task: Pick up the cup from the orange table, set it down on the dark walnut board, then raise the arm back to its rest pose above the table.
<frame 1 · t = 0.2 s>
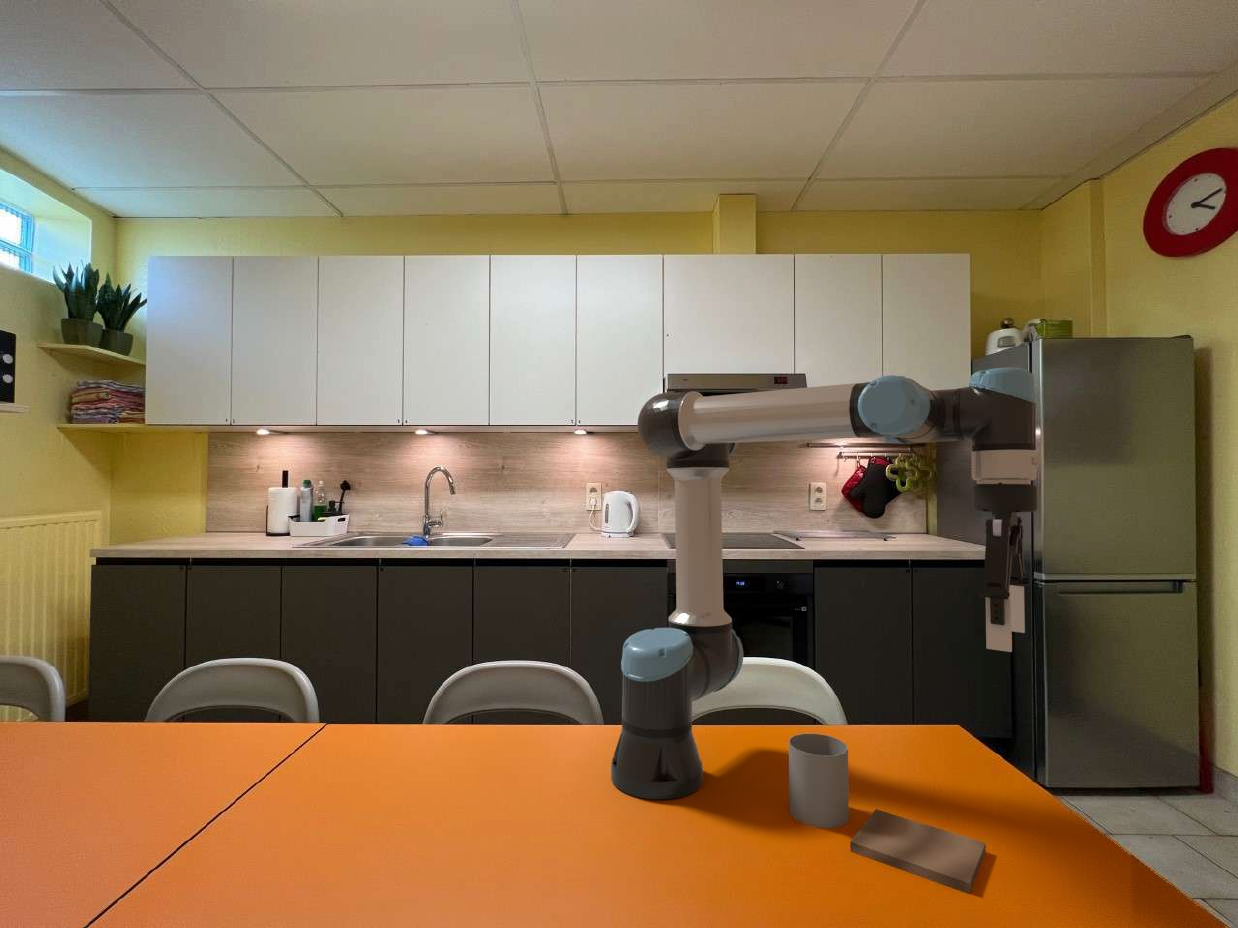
hand: (1006, 640, 85), 27 cm above the table, tool pointing down, fingers open, 13 cm apart
walnut board: (917, 851, 83), on the table
cup: (818, 814, 93), on the table
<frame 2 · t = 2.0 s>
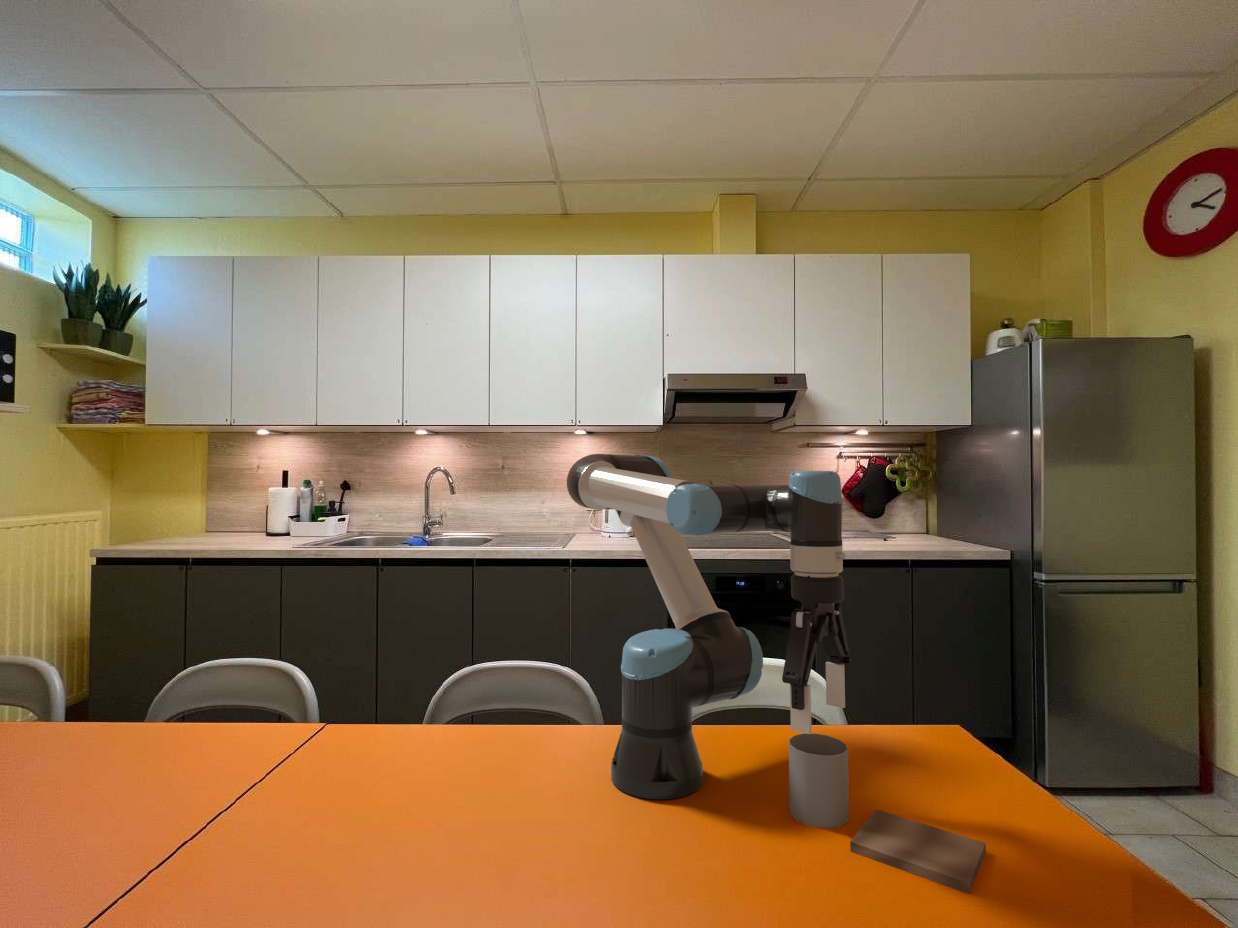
hand: (819, 718, 93), 14 cm above the table, tool pointing down, fingers open, 13 cm apart
nothing on the table moved.
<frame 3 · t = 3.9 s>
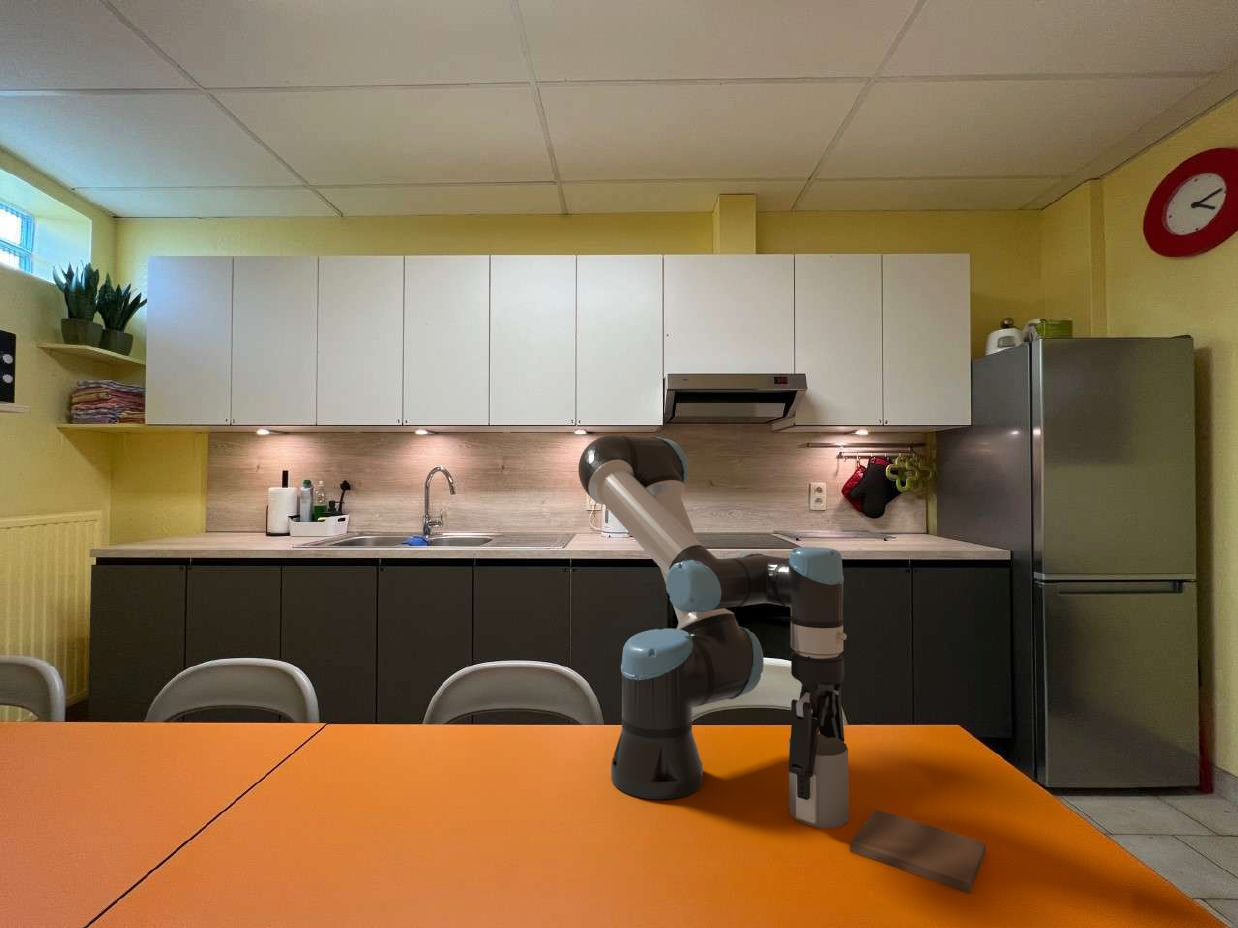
hand: (818, 806, 93), 1 cm above the table, tool pointing down, fingers closed on cup, 8 cm apart
cup: (818, 814, 93), on the table, touching gripper
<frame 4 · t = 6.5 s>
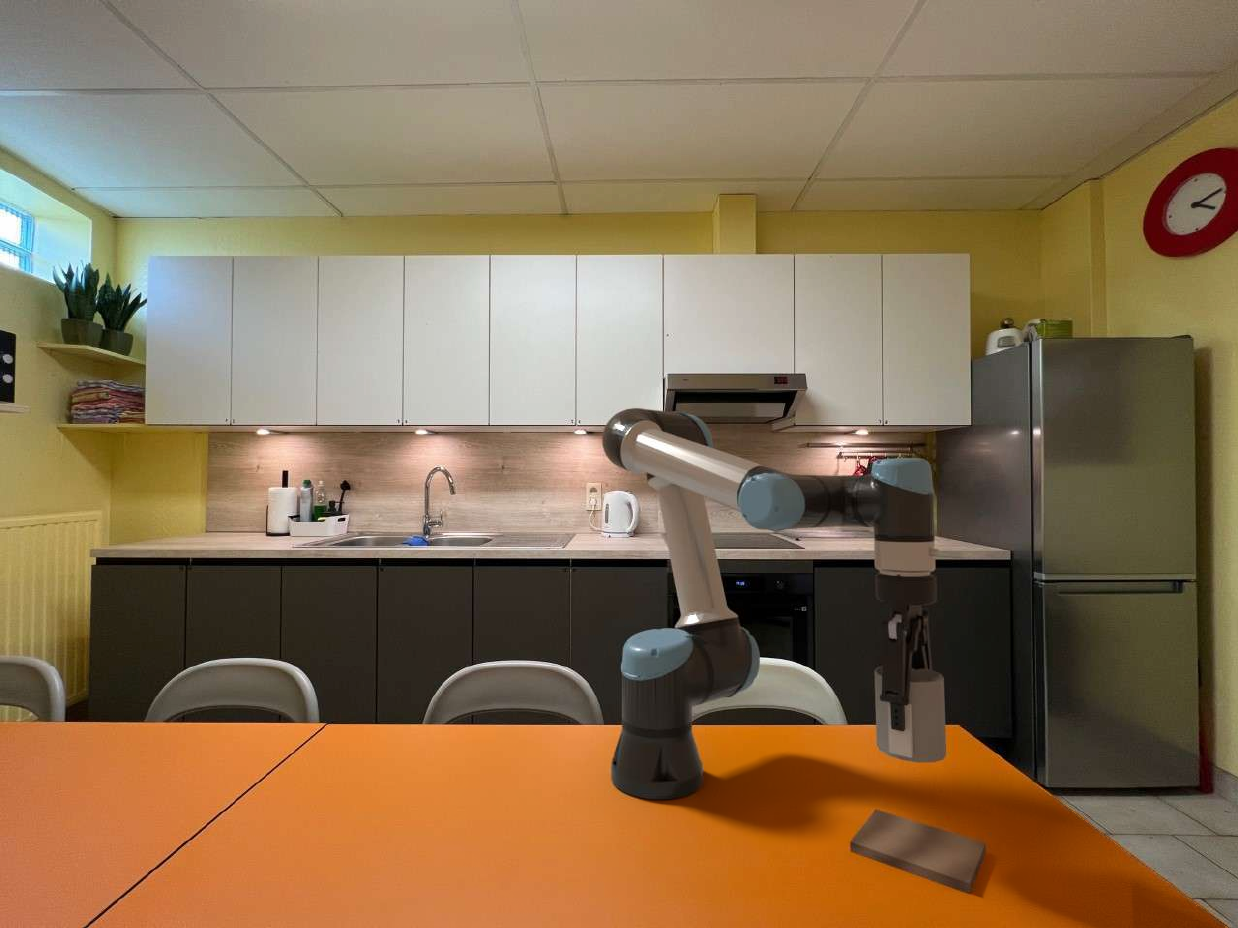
hand: (910, 742, 84), 14 cm above the table, tool pointing down, fingers closed on cup, 8 cm apart
cup: (910, 750, 84), point 13 cm above the table, touching gripper
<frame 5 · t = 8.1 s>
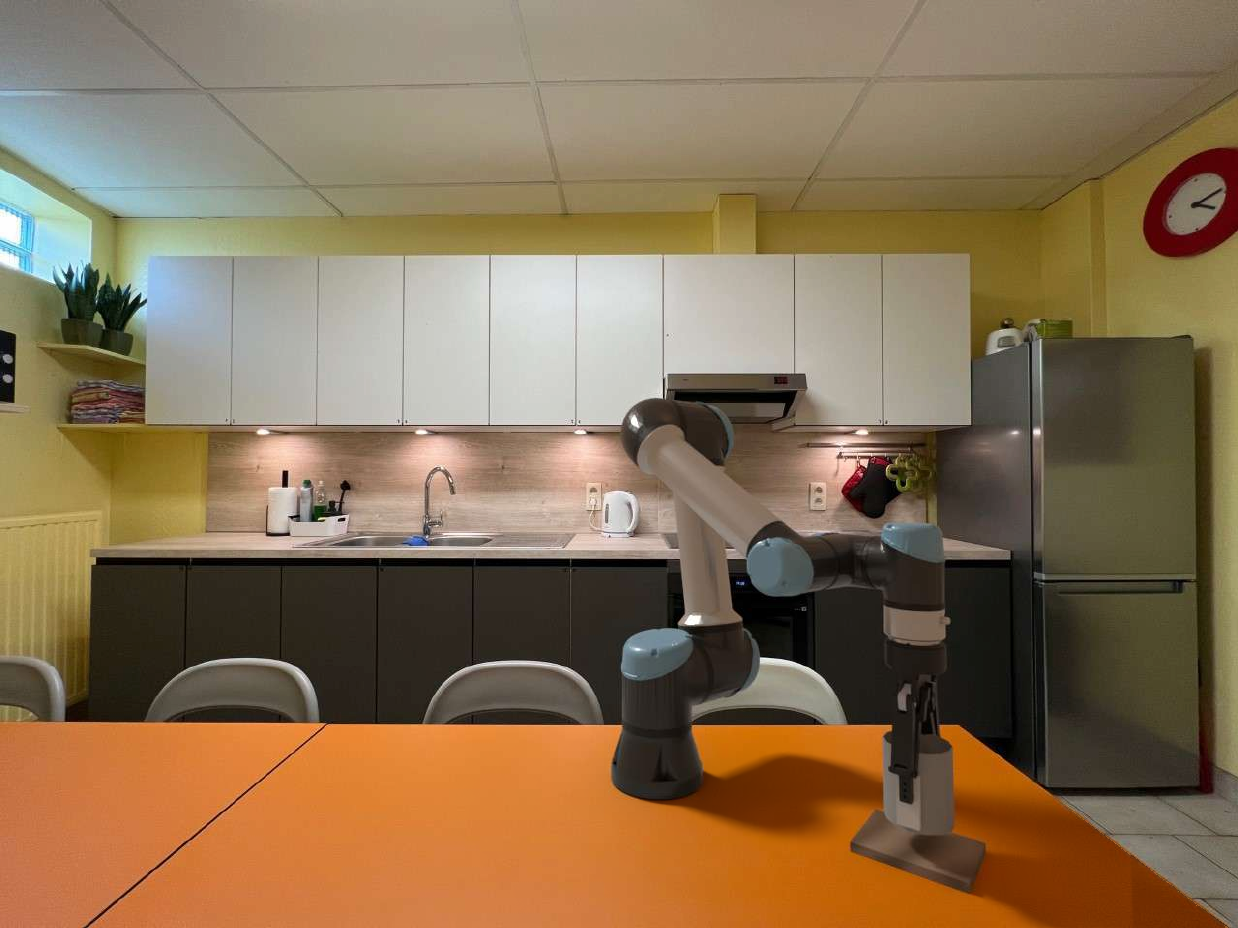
hand: (918, 811, 83), 5 cm above the table, tool pointing down, fingers closed on cup, 8 cm apart
cup: (918, 819, 83), point 4 cm above the table, touching gripper
when the fingers open (4 cm above the table, at t = 9.2 s): cup drops 2 cm, resting on walnut board.
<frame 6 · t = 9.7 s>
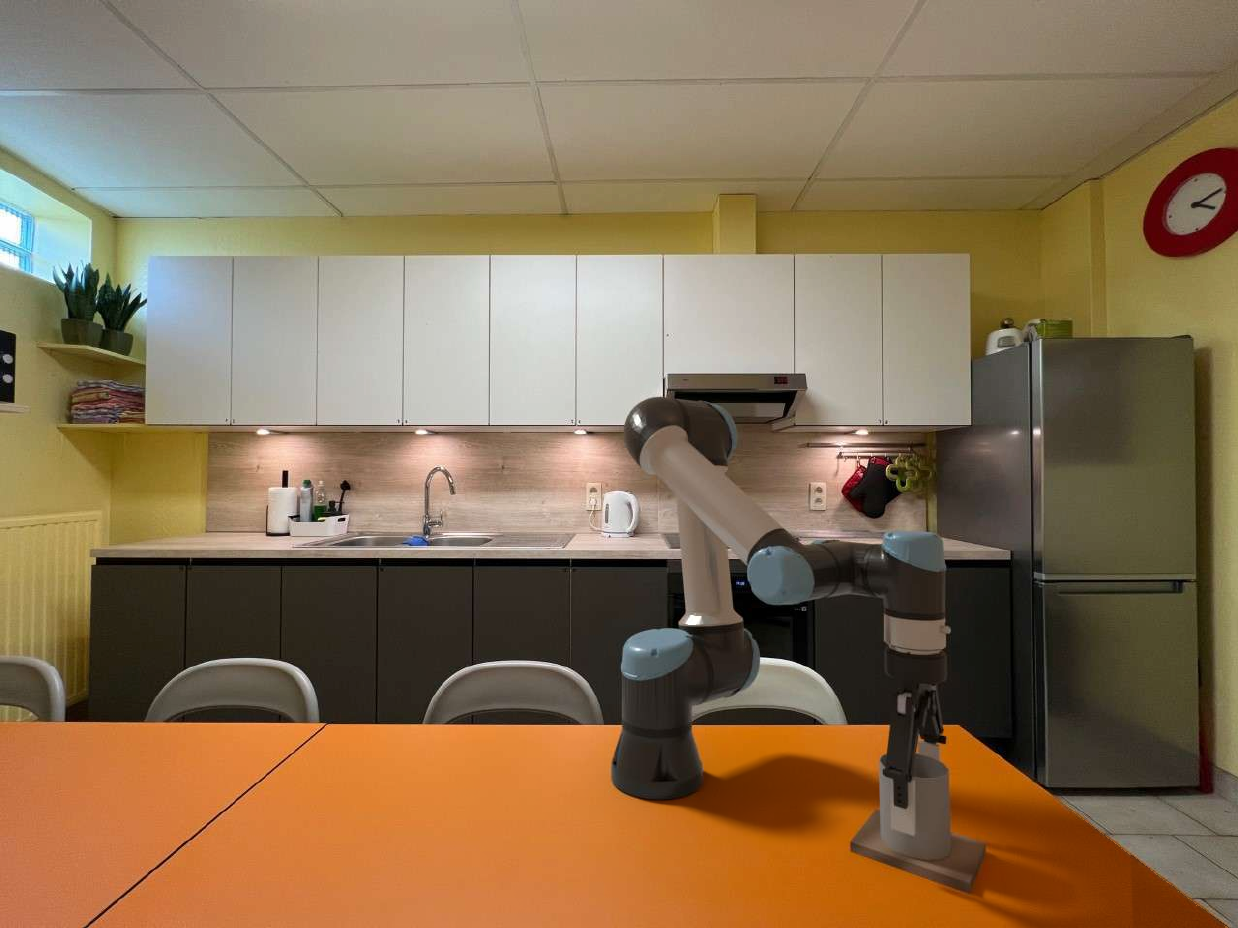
hand: (917, 809, 83), 5 cm above the table, tool pointing down, fingers open, 13 cm apart
cup: (915, 843, 83), point 1 cm above the table, touching walnut board
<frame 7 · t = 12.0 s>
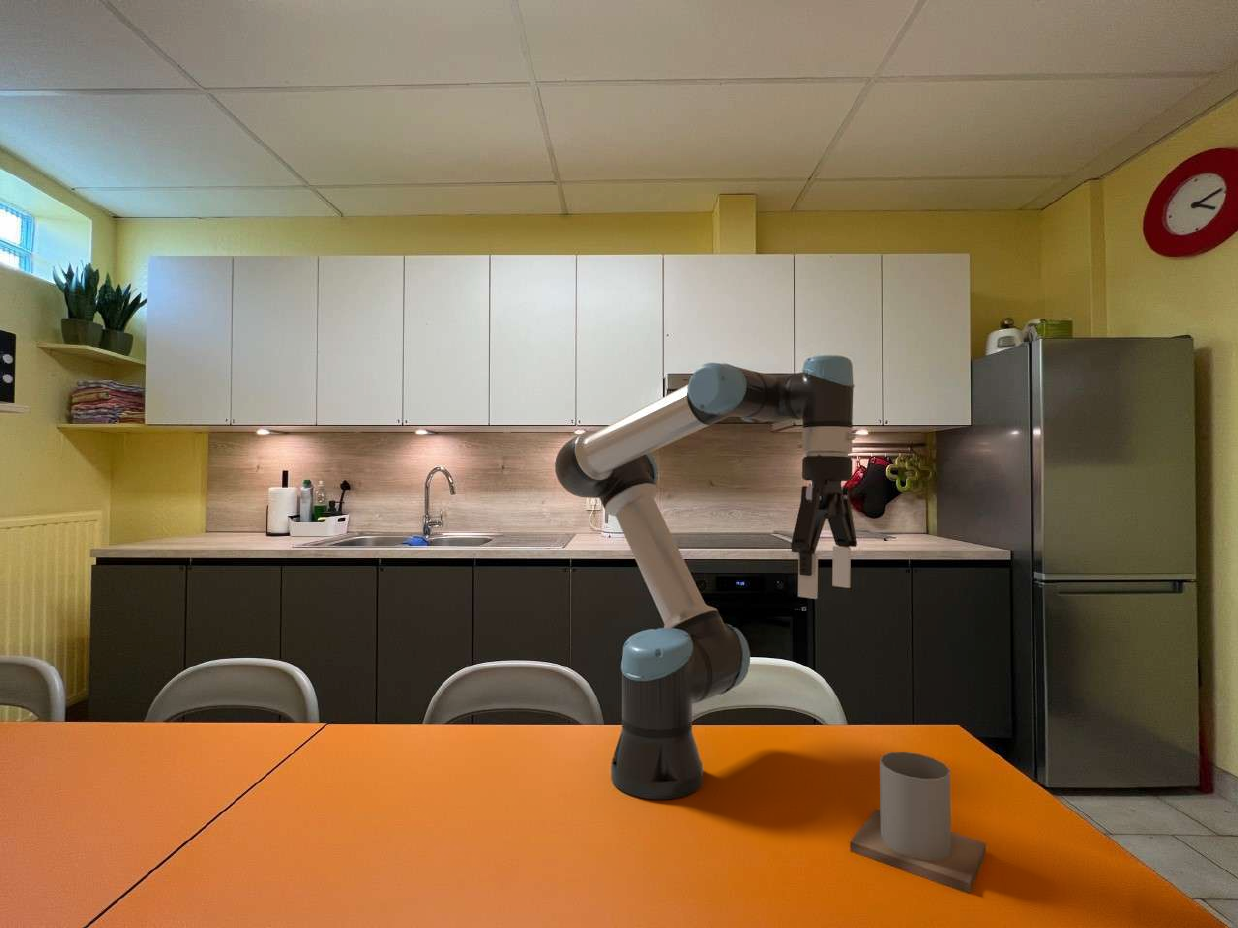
hand: (825, 591, 98), 32 cm above the table, tool pointing down, fingers open, 13 cm apart
nothing on the table moved.
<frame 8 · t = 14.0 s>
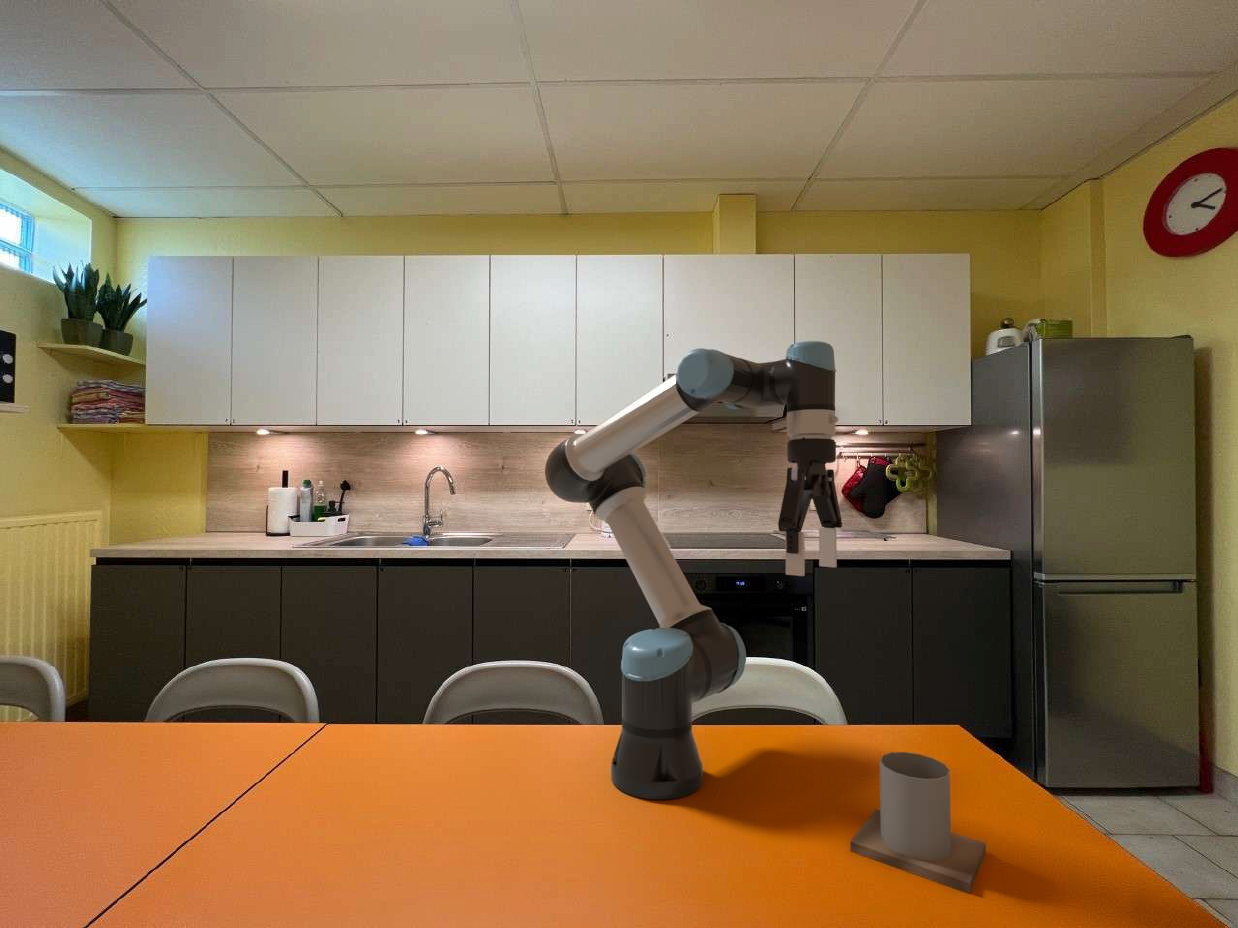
hand: (812, 570, 101), 35 cm above the table, tool pointing down, fingers open, 13 cm apart
nothing on the table moved.
at the end: cup inside the target area on the walnut board (0.4 cm from its centre), point 1.0 cm above the walnut board's base; cup tilted 0°; the gripper is holding nothing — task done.
